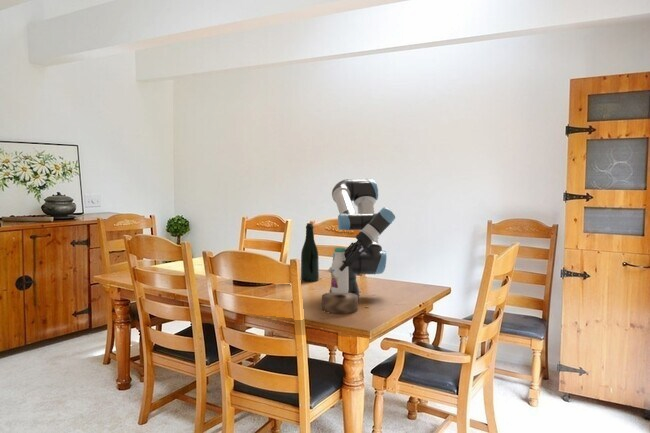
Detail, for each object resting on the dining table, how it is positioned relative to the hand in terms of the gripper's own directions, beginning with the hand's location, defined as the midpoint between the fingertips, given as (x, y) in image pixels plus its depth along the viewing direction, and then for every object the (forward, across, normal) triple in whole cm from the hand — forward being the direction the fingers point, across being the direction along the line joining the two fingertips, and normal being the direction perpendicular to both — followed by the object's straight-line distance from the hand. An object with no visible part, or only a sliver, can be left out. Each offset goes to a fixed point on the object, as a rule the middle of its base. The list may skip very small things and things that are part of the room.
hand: (332, 273), depth 220 cm
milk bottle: (+4, 0, -9) cm, 9 cm away
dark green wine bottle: (+9, +67, -14) cm, 69 cm away
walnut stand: (+9, 0, -14) cm, 16 cm away
